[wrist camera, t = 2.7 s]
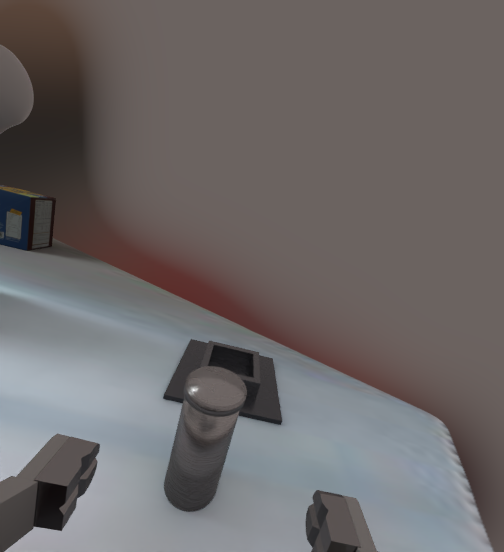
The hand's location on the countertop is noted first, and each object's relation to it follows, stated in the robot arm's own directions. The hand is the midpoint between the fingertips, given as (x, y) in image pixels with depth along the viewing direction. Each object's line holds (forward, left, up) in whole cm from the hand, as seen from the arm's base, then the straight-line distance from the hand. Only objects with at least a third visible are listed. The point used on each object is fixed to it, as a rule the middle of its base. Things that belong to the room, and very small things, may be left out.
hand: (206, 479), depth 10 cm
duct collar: (+2, +31, -16) cm, 34 cm away
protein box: (-68, +73, -16) cm, 101 cm away
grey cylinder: (0, +13, -16) cm, 20 cm away
